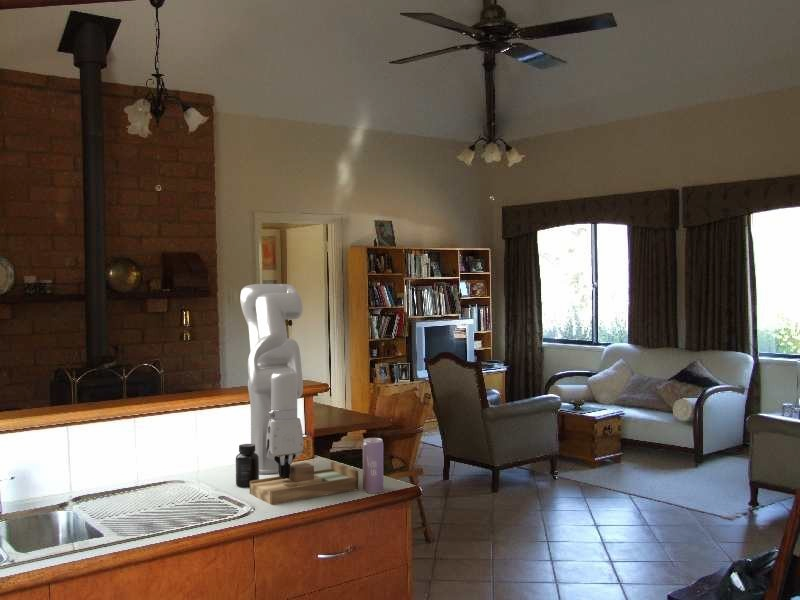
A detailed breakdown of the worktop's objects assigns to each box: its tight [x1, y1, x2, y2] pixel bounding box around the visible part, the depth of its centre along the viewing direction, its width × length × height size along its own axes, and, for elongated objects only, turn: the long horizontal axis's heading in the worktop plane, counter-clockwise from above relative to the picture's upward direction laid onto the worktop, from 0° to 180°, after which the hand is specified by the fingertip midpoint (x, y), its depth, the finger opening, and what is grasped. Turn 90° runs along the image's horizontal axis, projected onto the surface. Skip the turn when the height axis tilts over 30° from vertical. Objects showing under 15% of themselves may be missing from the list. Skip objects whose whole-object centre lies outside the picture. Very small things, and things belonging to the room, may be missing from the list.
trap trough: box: [249, 461, 359, 505], centre depth 236 cm, size 14×28×6 cm, turn 125°
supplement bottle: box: [235, 443, 260, 488], centre depth 243 cm, size 7×7×12 cm
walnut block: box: [288, 462, 315, 482], centre depth 239 cm, size 5×6×4 cm
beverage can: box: [362, 437, 384, 494], centre depth 237 cm, size 6×6×15 cm
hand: (284, 477), depth 236 cm, fingers closed
